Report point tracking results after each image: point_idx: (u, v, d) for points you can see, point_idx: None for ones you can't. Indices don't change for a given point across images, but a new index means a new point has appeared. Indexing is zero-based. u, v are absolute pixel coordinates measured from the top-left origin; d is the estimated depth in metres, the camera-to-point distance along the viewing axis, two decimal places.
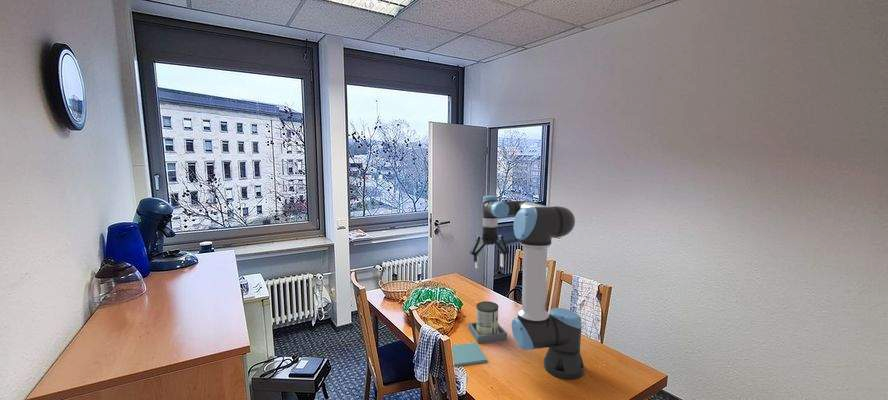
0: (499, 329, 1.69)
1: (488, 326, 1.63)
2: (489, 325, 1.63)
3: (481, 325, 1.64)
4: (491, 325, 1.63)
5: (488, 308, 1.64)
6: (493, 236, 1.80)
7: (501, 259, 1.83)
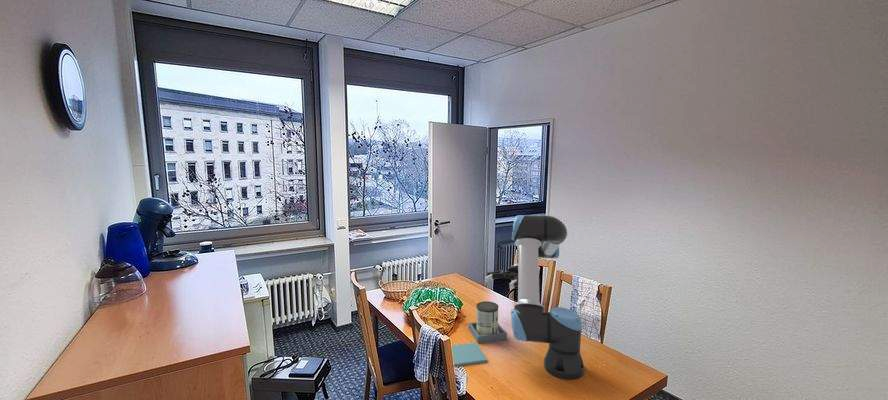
0: (499, 329, 1.69)
1: (488, 326, 1.63)
2: (489, 325, 1.63)
3: (481, 325, 1.64)
4: (491, 325, 1.63)
5: (488, 308, 1.64)
6: (514, 273, 1.85)
7: None
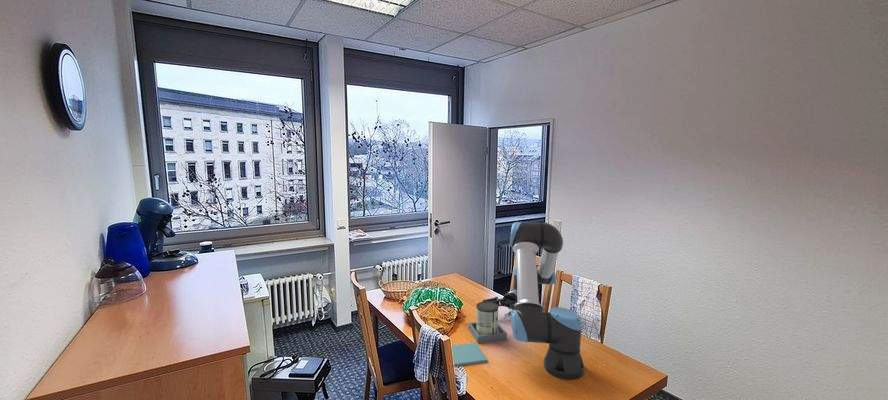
0: (499, 329, 1.69)
1: (488, 326, 1.63)
2: (489, 325, 1.63)
3: (481, 325, 1.64)
4: (491, 325, 1.63)
5: (488, 308, 1.64)
6: None
7: None
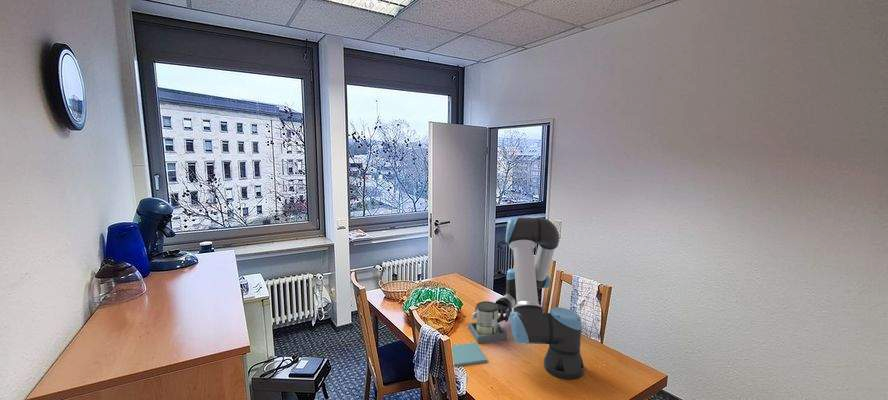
0: (499, 329, 1.69)
1: (488, 326, 1.63)
2: (489, 325, 1.63)
3: (481, 325, 1.64)
4: (491, 325, 1.63)
5: (488, 308, 1.64)
6: (503, 306, 1.77)
7: None
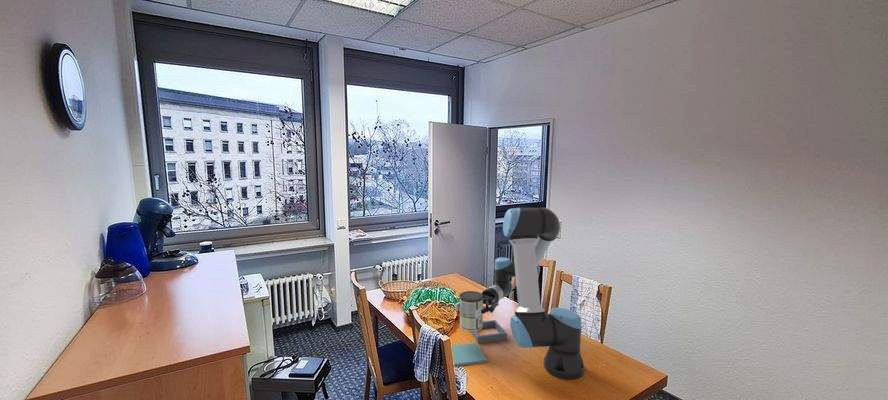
0: (499, 329, 1.69)
1: (471, 317, 1.51)
2: (472, 316, 1.51)
3: (464, 316, 1.52)
4: None
5: (472, 297, 1.52)
6: (489, 296, 1.64)
7: None
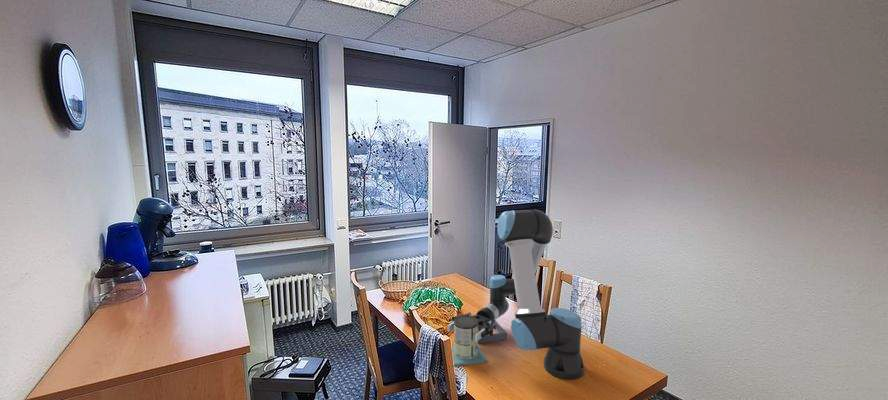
0: (499, 329, 1.69)
1: (466, 344, 1.45)
2: (467, 343, 1.45)
3: (458, 344, 1.46)
4: (470, 343, 1.45)
5: (467, 324, 1.46)
6: (484, 317, 1.58)
7: None
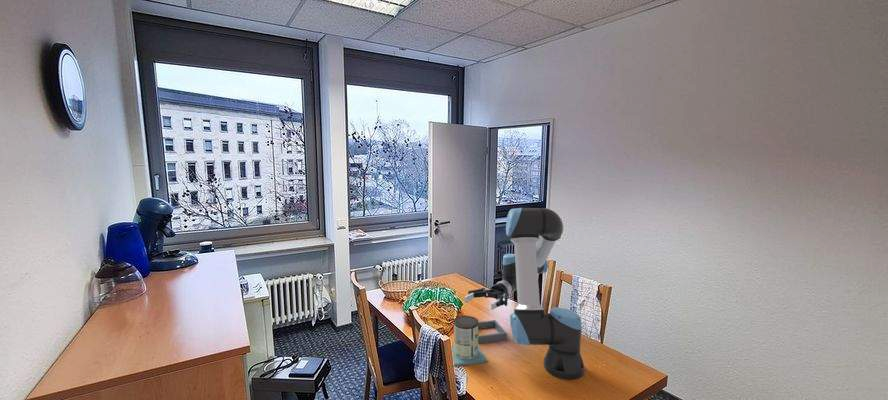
0: (499, 329, 1.69)
1: (466, 344, 1.45)
2: (467, 343, 1.45)
3: (458, 344, 1.46)
4: (470, 343, 1.45)
5: (467, 324, 1.46)
6: (498, 291, 1.68)
7: None
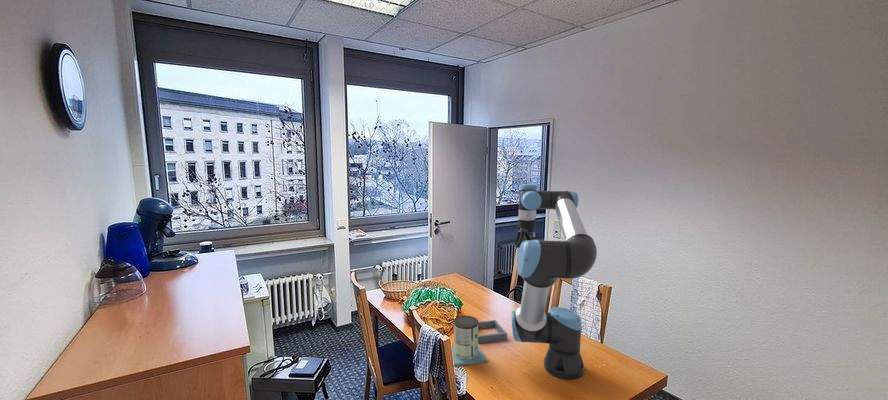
0: (499, 329, 1.69)
1: (466, 344, 1.45)
2: (467, 343, 1.45)
3: (458, 344, 1.46)
4: (470, 343, 1.45)
5: (467, 324, 1.46)
6: (526, 231, 1.56)
7: None
